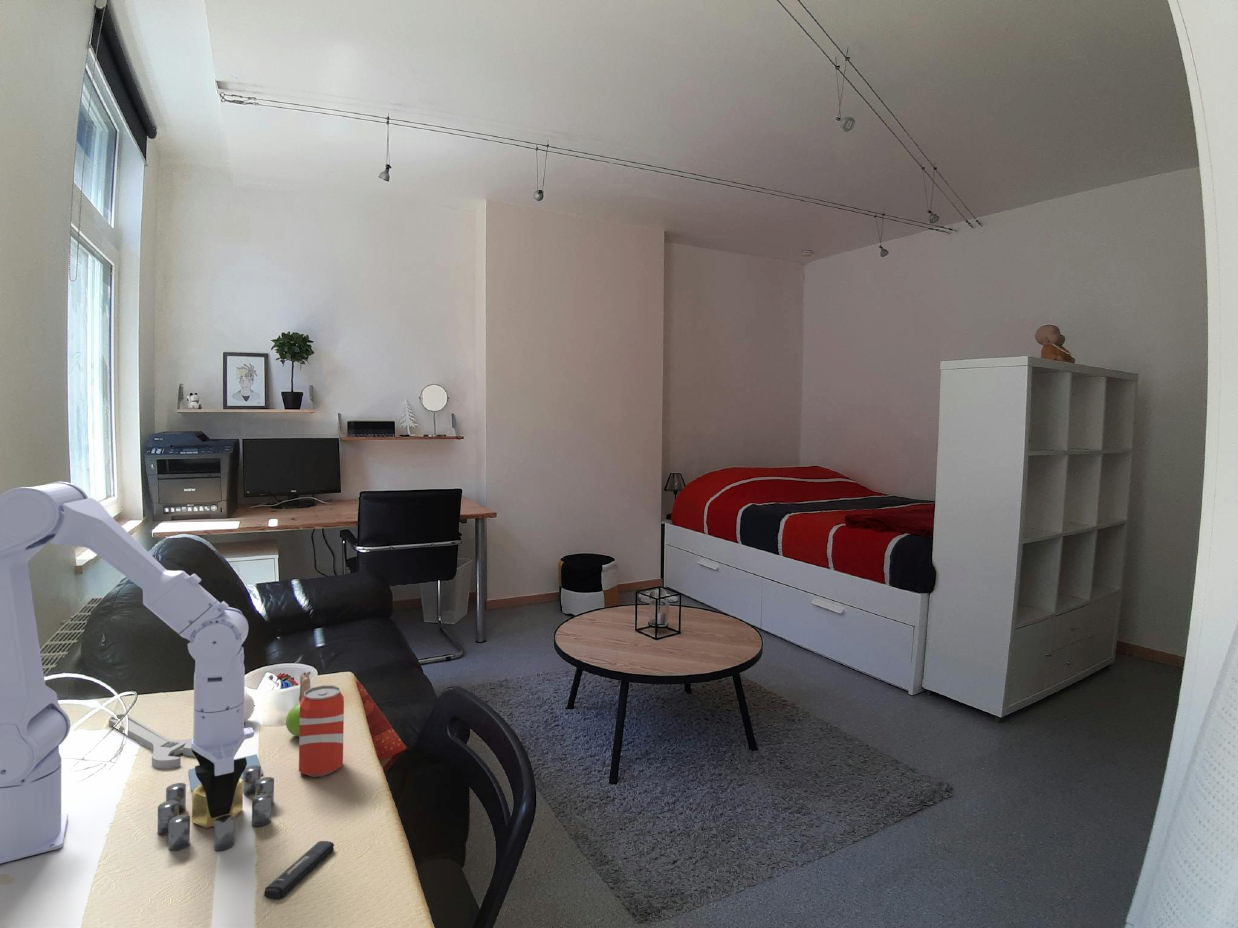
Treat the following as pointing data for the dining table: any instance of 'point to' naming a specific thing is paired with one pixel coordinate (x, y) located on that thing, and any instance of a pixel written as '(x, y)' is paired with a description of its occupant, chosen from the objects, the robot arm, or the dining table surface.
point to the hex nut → (201, 807)
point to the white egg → (248, 706)
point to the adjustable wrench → (156, 743)
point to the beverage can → (321, 730)
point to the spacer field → (223, 825)
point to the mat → (250, 759)
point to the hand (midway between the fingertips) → (218, 804)
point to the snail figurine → (298, 706)
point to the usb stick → (299, 870)
